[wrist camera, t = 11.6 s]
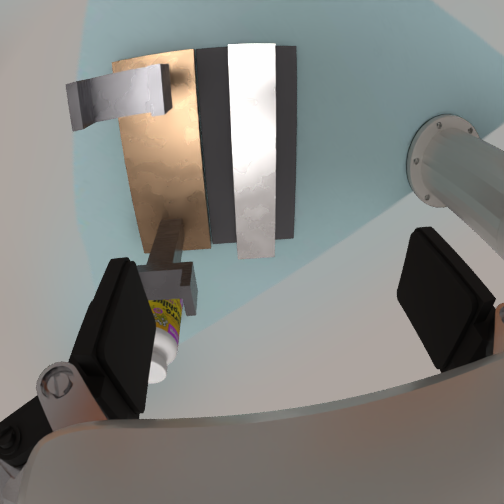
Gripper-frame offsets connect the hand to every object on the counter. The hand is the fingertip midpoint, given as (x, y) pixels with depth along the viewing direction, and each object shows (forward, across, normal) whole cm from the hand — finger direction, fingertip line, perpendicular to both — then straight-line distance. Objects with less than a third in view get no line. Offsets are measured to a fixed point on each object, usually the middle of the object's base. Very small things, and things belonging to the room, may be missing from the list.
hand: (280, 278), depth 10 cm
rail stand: (+25, +8, +2) cm, 26 cm away
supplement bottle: (+25, +13, +21) cm, 35 cm away
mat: (+25, -1, +3) cm, 25 cm away
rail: (+24, -1, +3) cm, 24 cm away
